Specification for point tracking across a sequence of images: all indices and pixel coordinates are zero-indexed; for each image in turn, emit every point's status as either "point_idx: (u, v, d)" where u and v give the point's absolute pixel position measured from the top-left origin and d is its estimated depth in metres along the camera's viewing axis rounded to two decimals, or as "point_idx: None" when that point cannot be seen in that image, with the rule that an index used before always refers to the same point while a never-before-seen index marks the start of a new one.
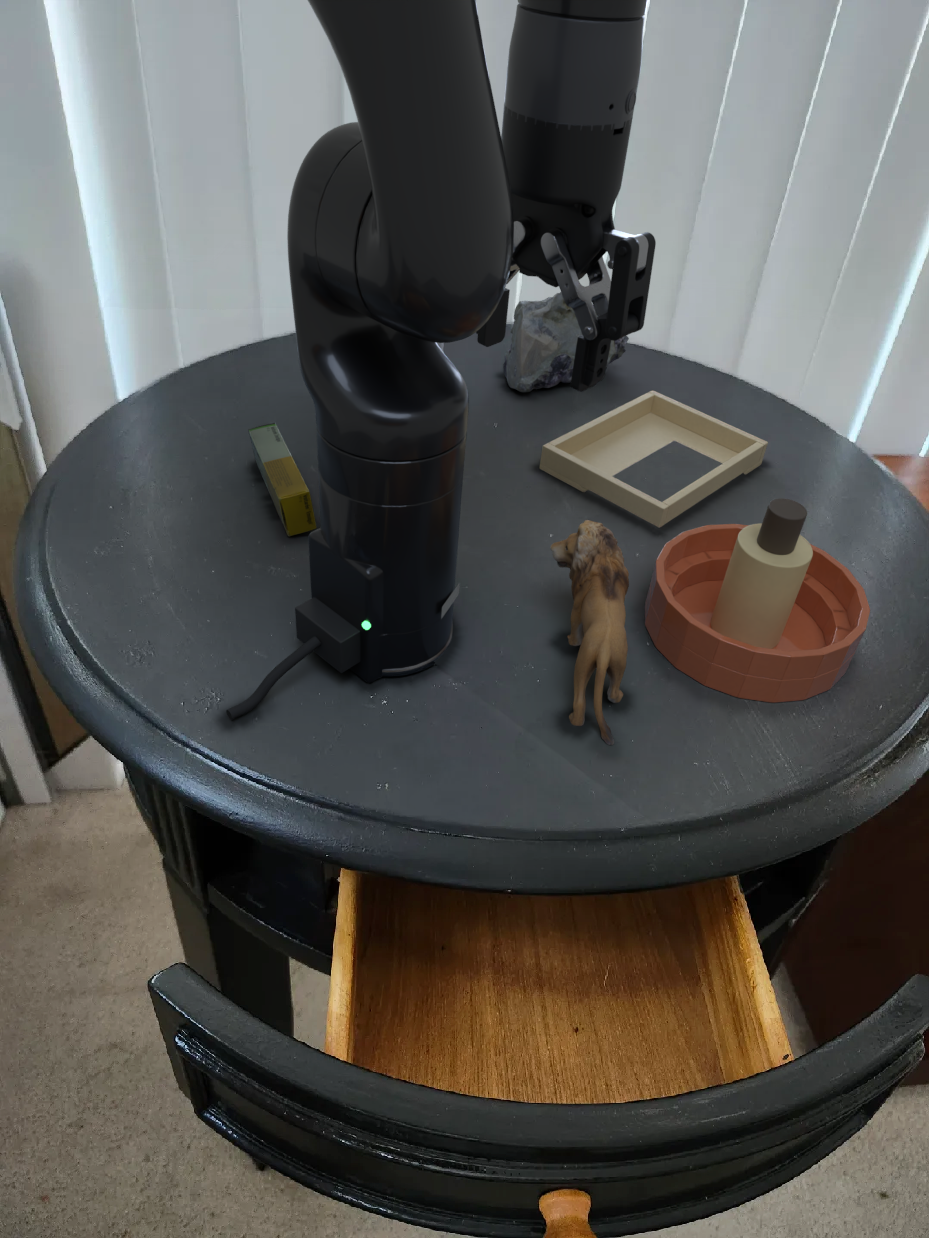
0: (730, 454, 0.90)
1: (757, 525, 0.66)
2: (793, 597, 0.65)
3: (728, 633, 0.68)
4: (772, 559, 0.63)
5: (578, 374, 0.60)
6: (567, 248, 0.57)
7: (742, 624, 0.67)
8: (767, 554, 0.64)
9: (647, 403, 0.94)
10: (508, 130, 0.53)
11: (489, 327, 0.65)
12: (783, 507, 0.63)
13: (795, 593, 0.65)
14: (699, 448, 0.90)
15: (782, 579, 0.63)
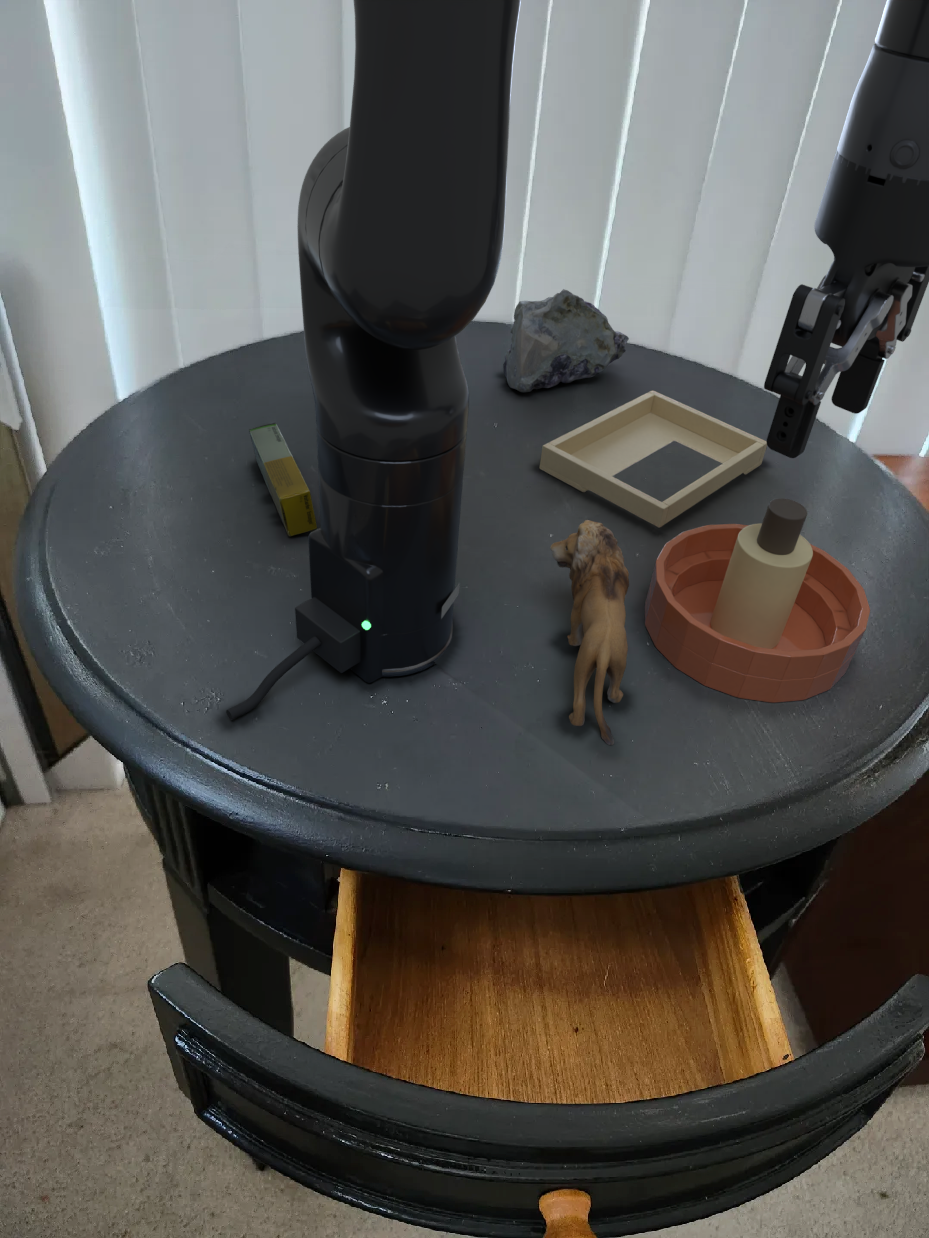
0: (730, 454, 0.90)
1: (757, 525, 0.66)
2: (793, 597, 0.65)
3: (728, 633, 0.68)
4: (772, 559, 0.63)
5: (772, 426, 0.56)
6: None
7: (742, 624, 0.67)
8: (767, 554, 0.64)
9: (647, 403, 0.94)
10: None
11: (842, 385, 0.60)
12: (783, 507, 0.63)
13: (795, 593, 0.65)
14: (699, 448, 0.90)
15: (782, 579, 0.63)
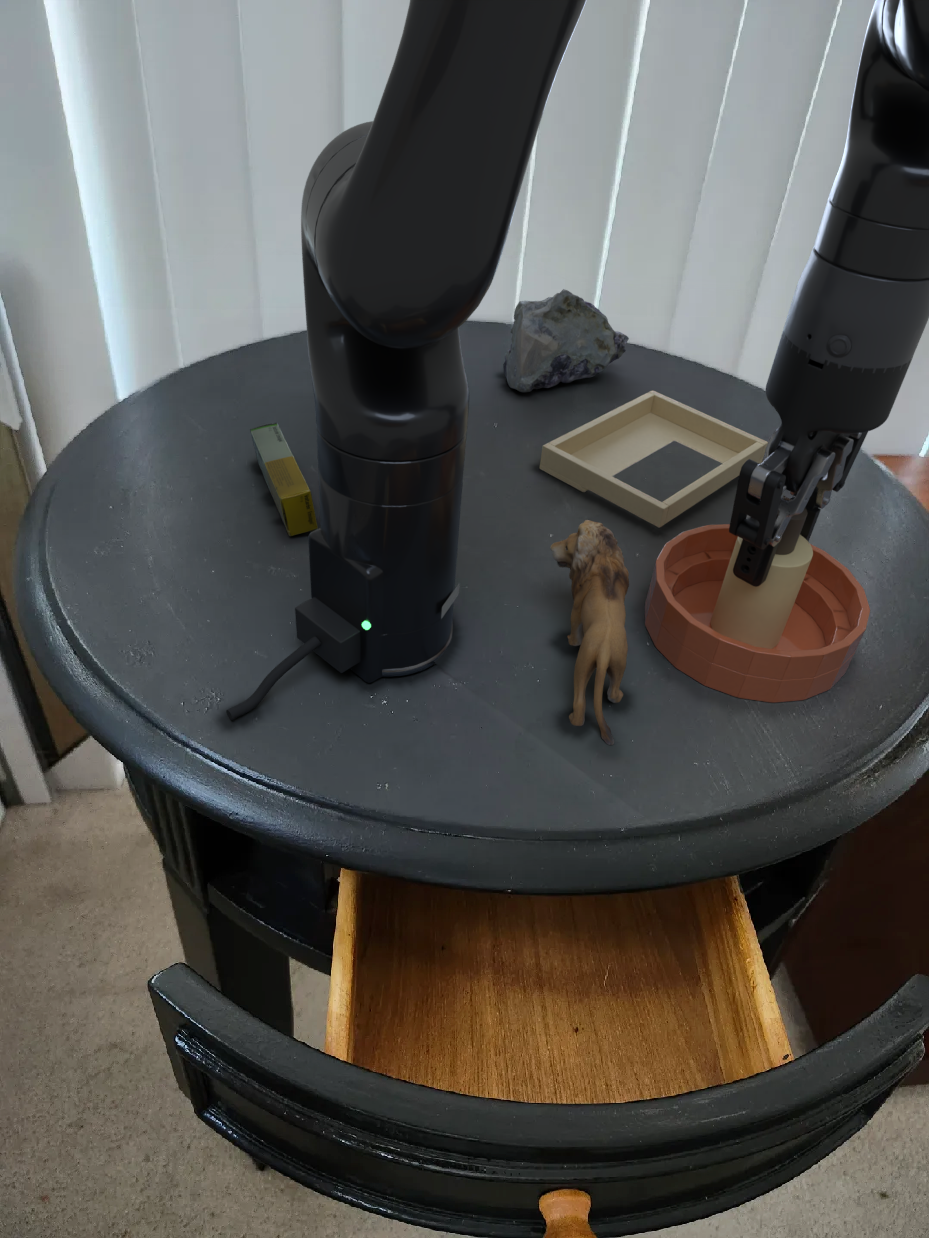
0: (730, 454, 0.90)
1: None
2: (793, 597, 0.65)
3: (728, 633, 0.68)
4: None
5: (737, 558, 0.64)
6: None
7: (742, 624, 0.67)
8: None
9: (647, 403, 0.94)
10: None
11: None
12: None
13: (795, 593, 0.65)
14: (699, 448, 0.90)
15: (782, 579, 0.63)
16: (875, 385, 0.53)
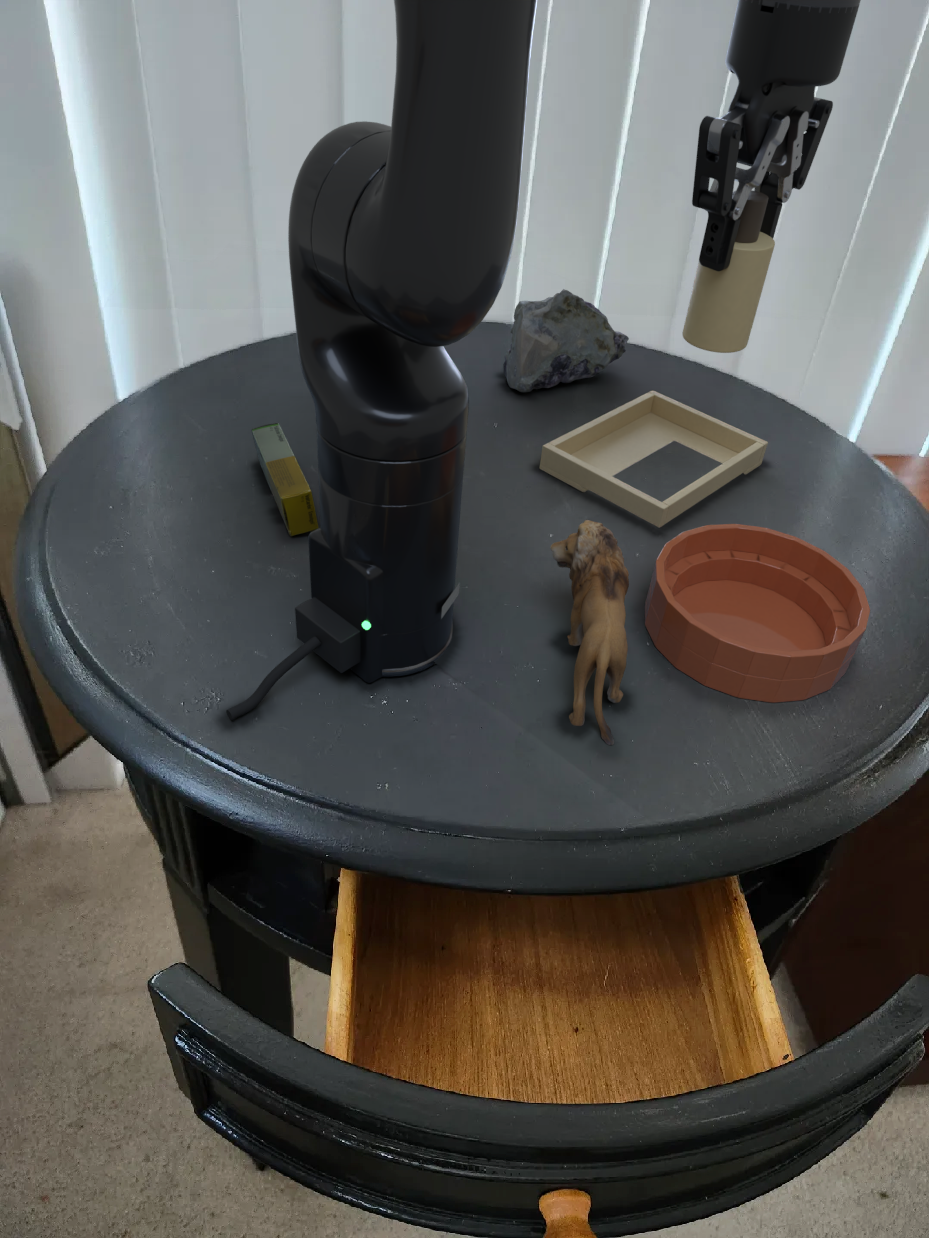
0: (730, 454, 0.90)
1: None
2: (757, 290, 0.70)
3: (697, 334, 0.72)
4: (736, 245, 0.68)
5: None
6: None
7: (710, 321, 0.71)
8: None
9: (647, 403, 0.94)
10: None
11: None
12: None
13: (759, 285, 0.69)
14: (699, 448, 0.90)
15: (745, 264, 0.68)
16: (822, 27, 0.57)
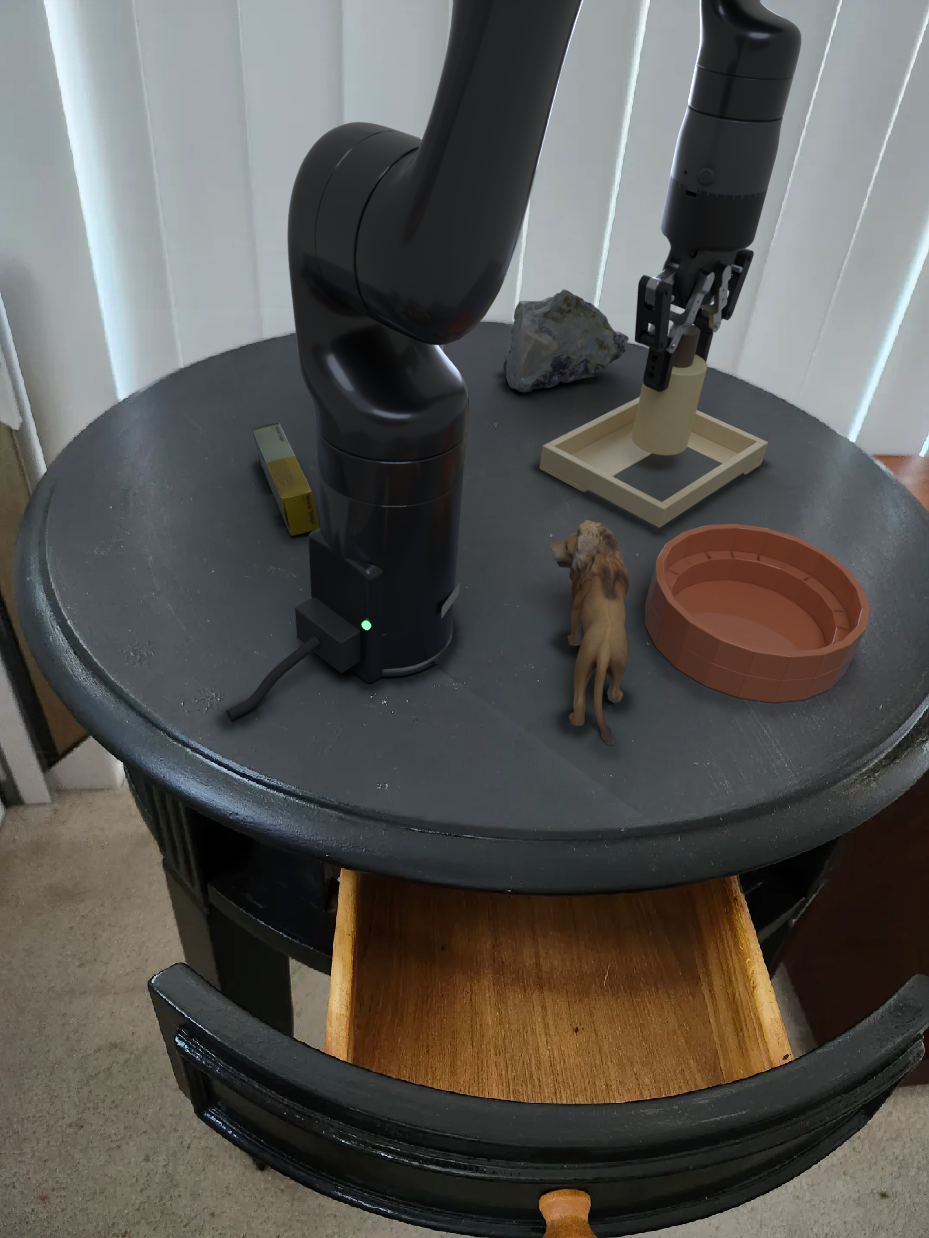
0: (730, 454, 0.90)
1: None
2: (693, 405, 0.82)
3: (644, 440, 0.84)
4: (673, 370, 0.80)
5: None
6: None
7: (653, 429, 0.83)
8: None
9: None
10: None
11: None
12: None
13: (694, 401, 0.82)
14: (699, 448, 0.90)
15: (681, 386, 0.80)
16: (736, 209, 0.69)
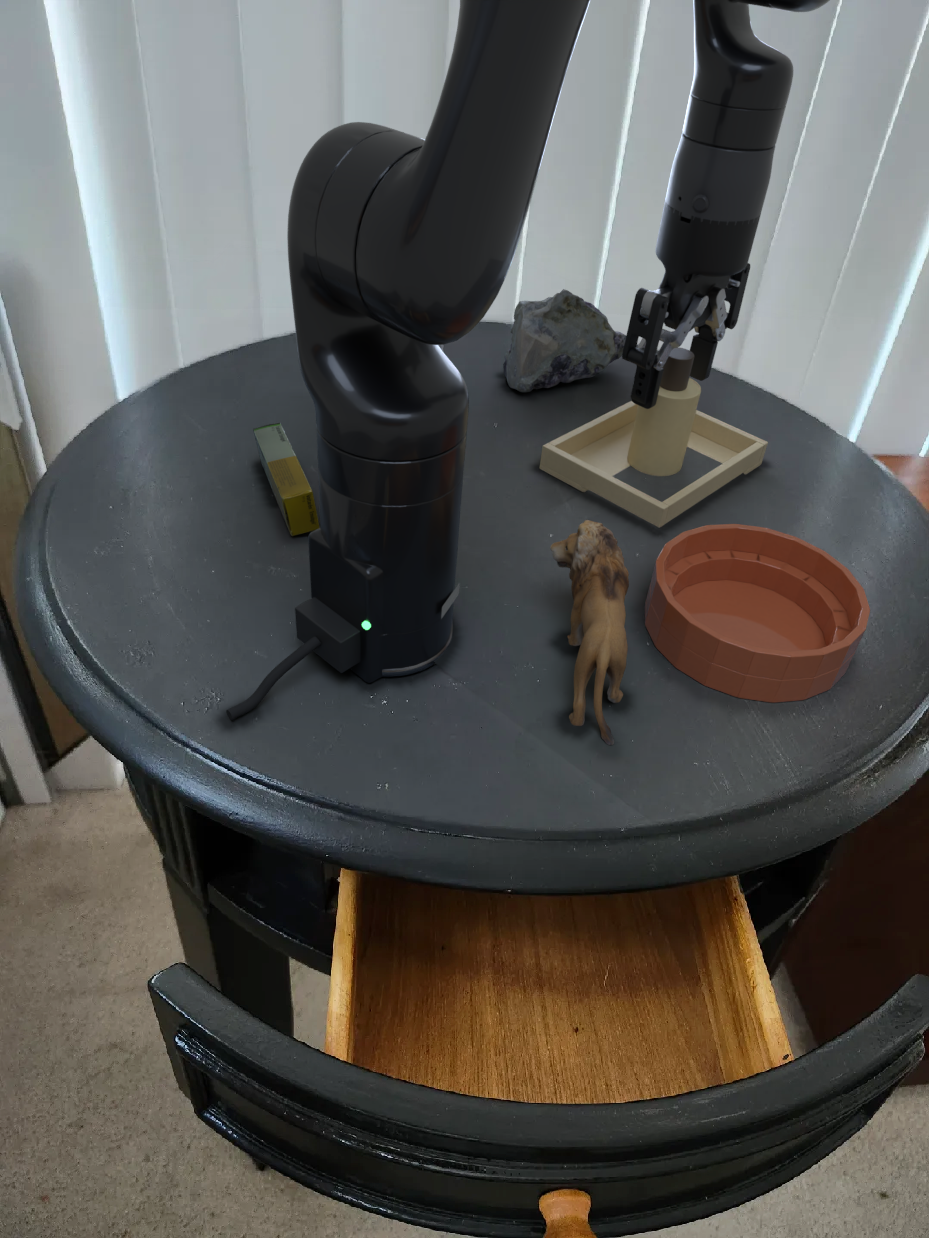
0: (730, 454, 0.90)
1: None
2: (687, 427, 0.83)
3: (639, 461, 0.86)
4: (668, 394, 0.81)
5: None
6: None
7: (648, 451, 0.85)
8: (665, 390, 0.82)
9: None
10: None
11: None
12: (676, 352, 0.81)
13: (688, 424, 0.83)
14: (699, 448, 0.90)
15: (676, 409, 0.81)
16: (729, 235, 0.71)
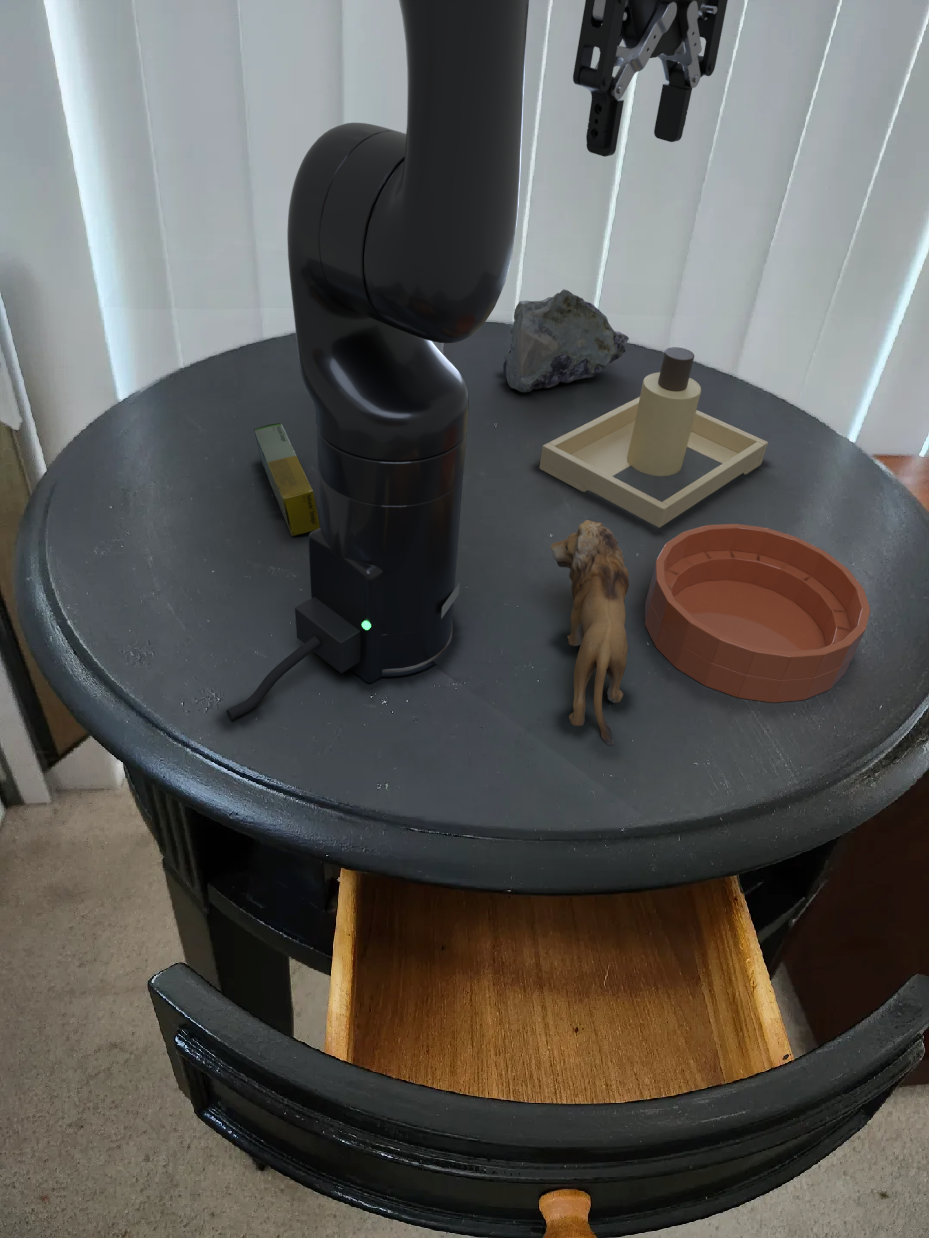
0: (730, 454, 0.90)
1: (660, 373, 0.84)
2: (687, 427, 0.83)
3: (639, 461, 0.86)
4: (668, 394, 0.81)
5: None
6: None
7: (648, 451, 0.85)
8: (665, 390, 0.82)
9: None
10: None
11: (661, 117, 0.72)
12: (676, 352, 0.81)
13: (688, 424, 0.83)
14: (699, 448, 0.90)
15: (676, 409, 0.81)
16: None
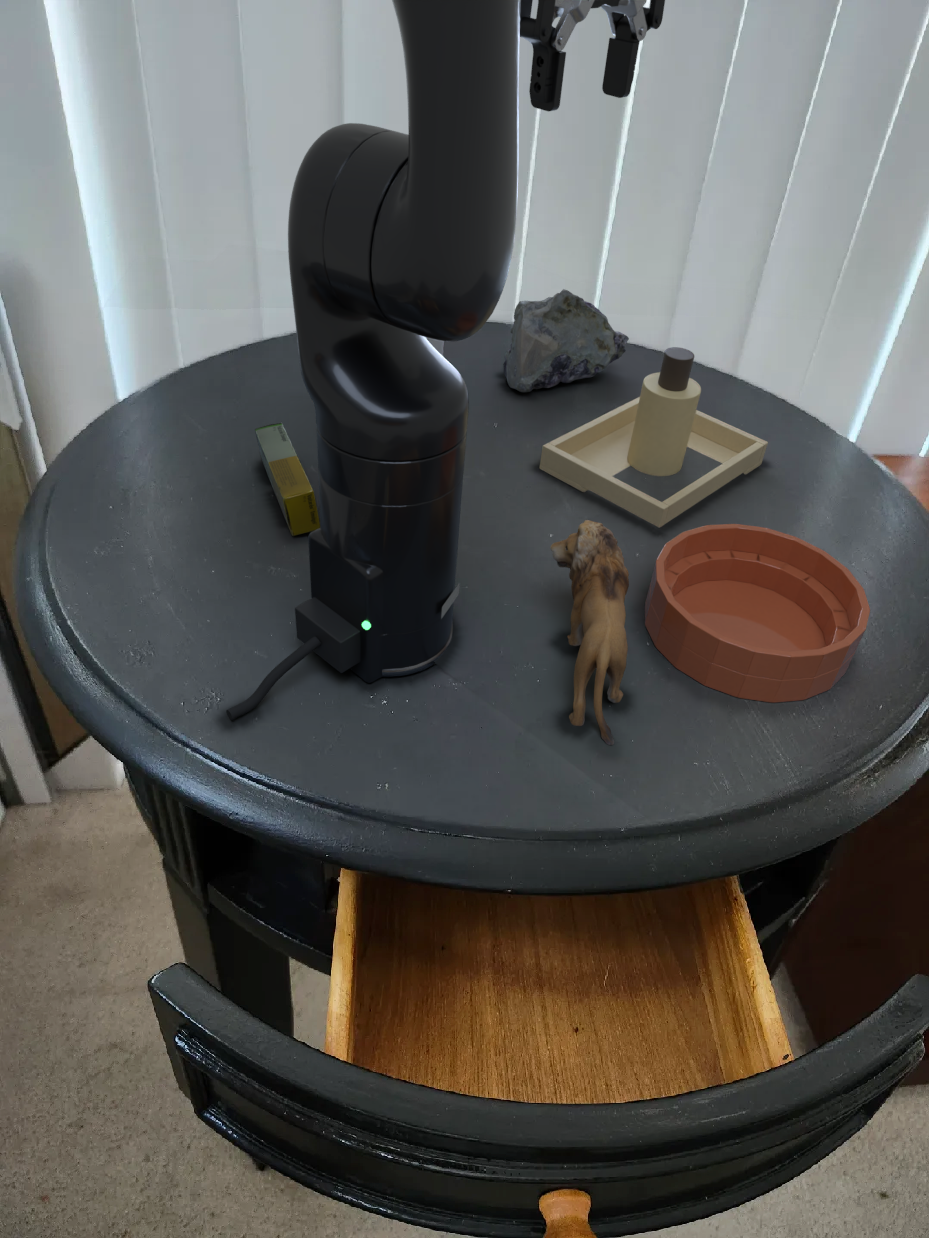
0: (730, 454, 0.90)
1: (660, 373, 0.84)
2: (687, 427, 0.83)
3: (639, 461, 0.86)
4: (668, 394, 0.81)
5: None
6: None
7: (648, 451, 0.85)
8: (665, 390, 0.82)
9: None
10: None
11: (609, 73, 0.71)
12: (676, 352, 0.81)
13: (688, 424, 0.83)
14: (699, 448, 0.90)
15: (676, 409, 0.81)
16: None
